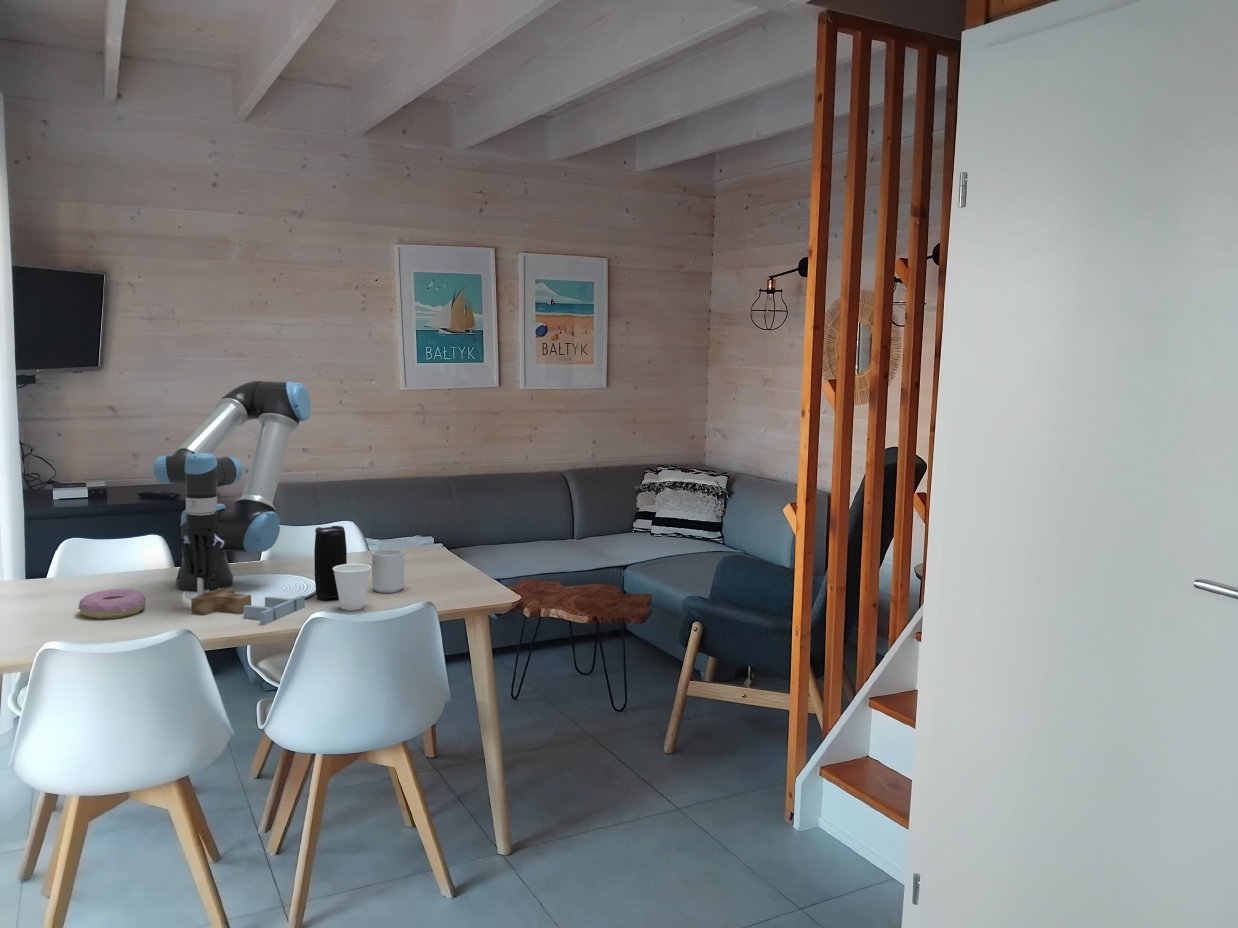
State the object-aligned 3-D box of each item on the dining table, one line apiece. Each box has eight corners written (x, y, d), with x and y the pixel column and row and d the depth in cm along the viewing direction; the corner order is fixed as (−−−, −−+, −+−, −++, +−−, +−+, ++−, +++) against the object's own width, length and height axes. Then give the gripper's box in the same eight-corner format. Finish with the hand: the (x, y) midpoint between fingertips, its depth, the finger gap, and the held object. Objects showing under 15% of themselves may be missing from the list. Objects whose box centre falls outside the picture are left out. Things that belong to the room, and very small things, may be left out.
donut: (71, 611, 246) (70, 593, 246) (134, 602, 257) (134, 584, 256) (90, 625, 235) (89, 605, 235) (155, 614, 246) (154, 595, 245)
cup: (375, 603, 261) (374, 563, 259) (366, 613, 251) (366, 571, 250) (338, 602, 260) (338, 563, 259) (328, 612, 250) (328, 571, 249)
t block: (191, 613, 247) (191, 598, 246) (221, 602, 258) (221, 587, 258) (232, 617, 244) (231, 602, 243) (260, 606, 255) (260, 591, 255)
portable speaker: (339, 591, 272) (339, 524, 270) (352, 598, 265) (351, 529, 263) (309, 595, 267) (309, 526, 265) (321, 603, 260) (321, 532, 257)
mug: (405, 592, 273) (405, 554, 272) (373, 594, 270) (373, 555, 269) (401, 583, 284) (401, 546, 283) (370, 584, 281) (370, 547, 280)
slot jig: (234, 621, 240) (233, 609, 240) (276, 603, 258) (275, 593, 257) (264, 624, 238) (264, 612, 238) (304, 606, 256) (304, 595, 255)
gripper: (170, 513, 247) (172, 602, 250) (213, 516, 244) (215, 606, 247) (190, 509, 255) (192, 595, 257) (232, 512, 251) (233, 600, 254)
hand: (203, 601), depth 252 cm, fingers closed
